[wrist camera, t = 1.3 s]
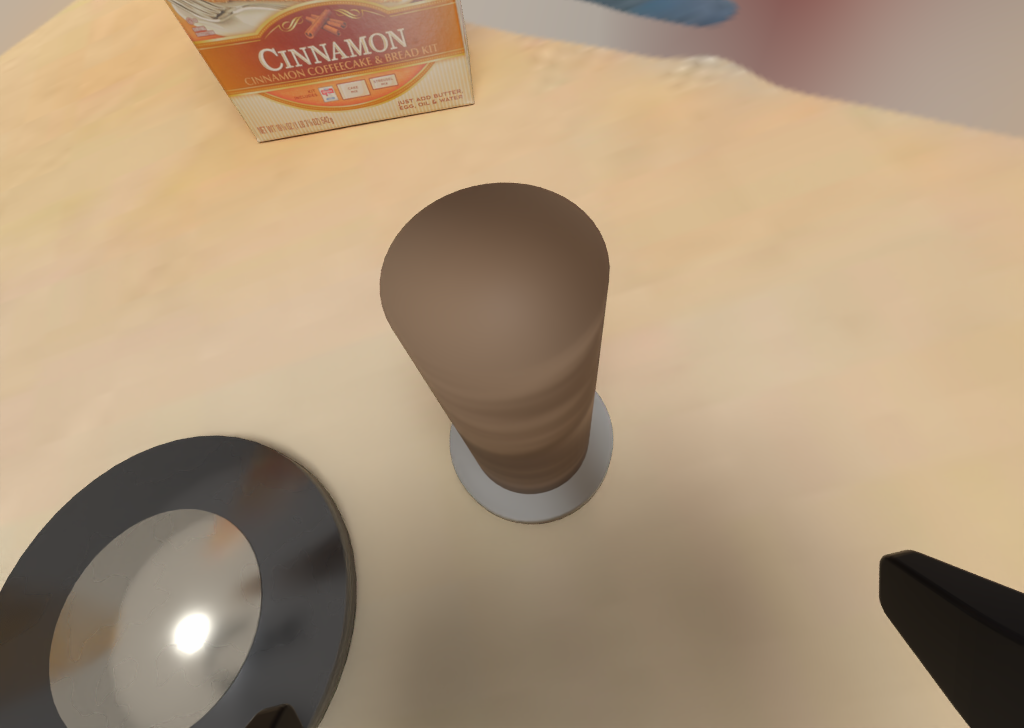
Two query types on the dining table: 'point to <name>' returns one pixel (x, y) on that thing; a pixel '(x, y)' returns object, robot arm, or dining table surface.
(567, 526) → the dining table surface
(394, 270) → the wooden peg on stand
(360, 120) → the coffeecake box
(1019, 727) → the robot arm
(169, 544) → the base plate
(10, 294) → the dining table surface
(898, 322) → the dining table surface
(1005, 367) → the dining table surface
